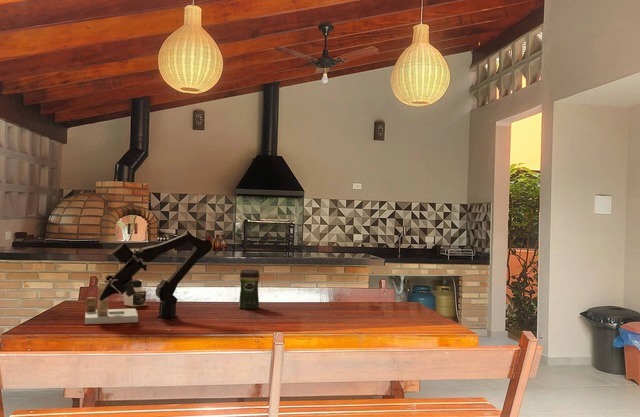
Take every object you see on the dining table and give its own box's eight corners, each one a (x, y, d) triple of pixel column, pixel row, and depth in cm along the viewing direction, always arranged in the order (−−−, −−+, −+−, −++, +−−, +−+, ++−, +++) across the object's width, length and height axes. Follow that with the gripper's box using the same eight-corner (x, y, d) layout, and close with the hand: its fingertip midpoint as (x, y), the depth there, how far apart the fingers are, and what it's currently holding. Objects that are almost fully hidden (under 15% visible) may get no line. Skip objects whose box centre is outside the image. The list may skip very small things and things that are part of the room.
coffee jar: (258, 306, 274) (260, 268, 274) (258, 309, 266) (260, 270, 266) (238, 306, 273) (240, 268, 273) (238, 309, 265) (239, 270, 265)
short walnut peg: (98, 310, 236) (98, 297, 236) (90, 312, 232) (90, 299, 232) (91, 309, 238) (92, 296, 238) (83, 311, 234) (84, 298, 234)
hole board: (135, 314, 244) (135, 308, 244) (137, 322, 228) (138, 316, 228) (85, 315, 237) (85, 310, 237) (84, 324, 221) (85, 317, 221)
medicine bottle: (132, 306, 261) (133, 281, 261) (123, 304, 266) (124, 279, 265) (145, 305, 267) (146, 280, 267) (136, 303, 271) (137, 278, 271)
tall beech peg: (109, 315, 228) (111, 283, 228) (101, 316, 225) (103, 284, 225) (103, 313, 230) (104, 282, 230) (95, 315, 227) (96, 283, 227)
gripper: (147, 287, 227) (117, 316, 222) (137, 281, 243) (109, 308, 238) (127, 268, 223) (97, 297, 218) (119, 263, 239) (90, 290, 234)
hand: (99, 299), depth 227 cm, fingers closed on tall beech peg, 4 cm apart
